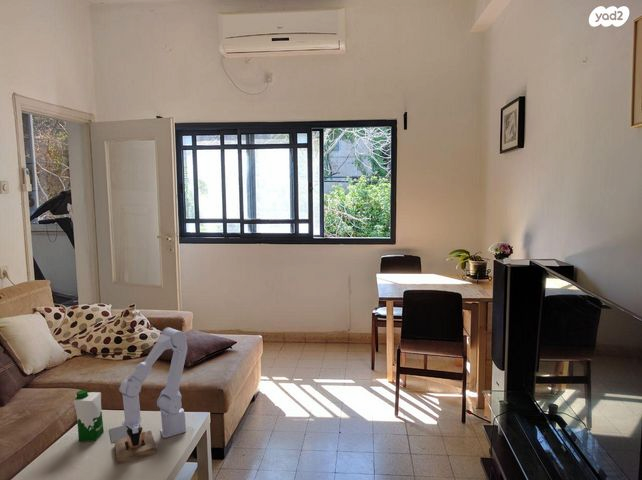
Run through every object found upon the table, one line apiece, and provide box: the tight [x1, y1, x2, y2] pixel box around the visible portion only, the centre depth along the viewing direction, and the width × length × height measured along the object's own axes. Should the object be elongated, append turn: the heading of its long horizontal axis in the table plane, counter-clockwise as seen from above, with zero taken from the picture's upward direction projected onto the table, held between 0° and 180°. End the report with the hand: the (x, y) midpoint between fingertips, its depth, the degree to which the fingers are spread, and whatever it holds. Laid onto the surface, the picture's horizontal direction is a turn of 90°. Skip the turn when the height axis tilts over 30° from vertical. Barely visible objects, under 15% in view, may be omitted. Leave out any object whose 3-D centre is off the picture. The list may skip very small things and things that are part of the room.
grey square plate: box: [109, 423, 142, 444], centre depth 193 cm, size 12×12×1 cm
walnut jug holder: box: [114, 430, 158, 465], centre depth 180 cm, size 14×14×2 cm
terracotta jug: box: [127, 427, 146, 450], centre depth 179 cm, size 6×5×8 cm
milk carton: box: [73, 389, 104, 442], centre depth 189 cm, size 9×9×20 cm
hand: (134, 441), depth 179 cm, fingers closed on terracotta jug, 5 cm apart
